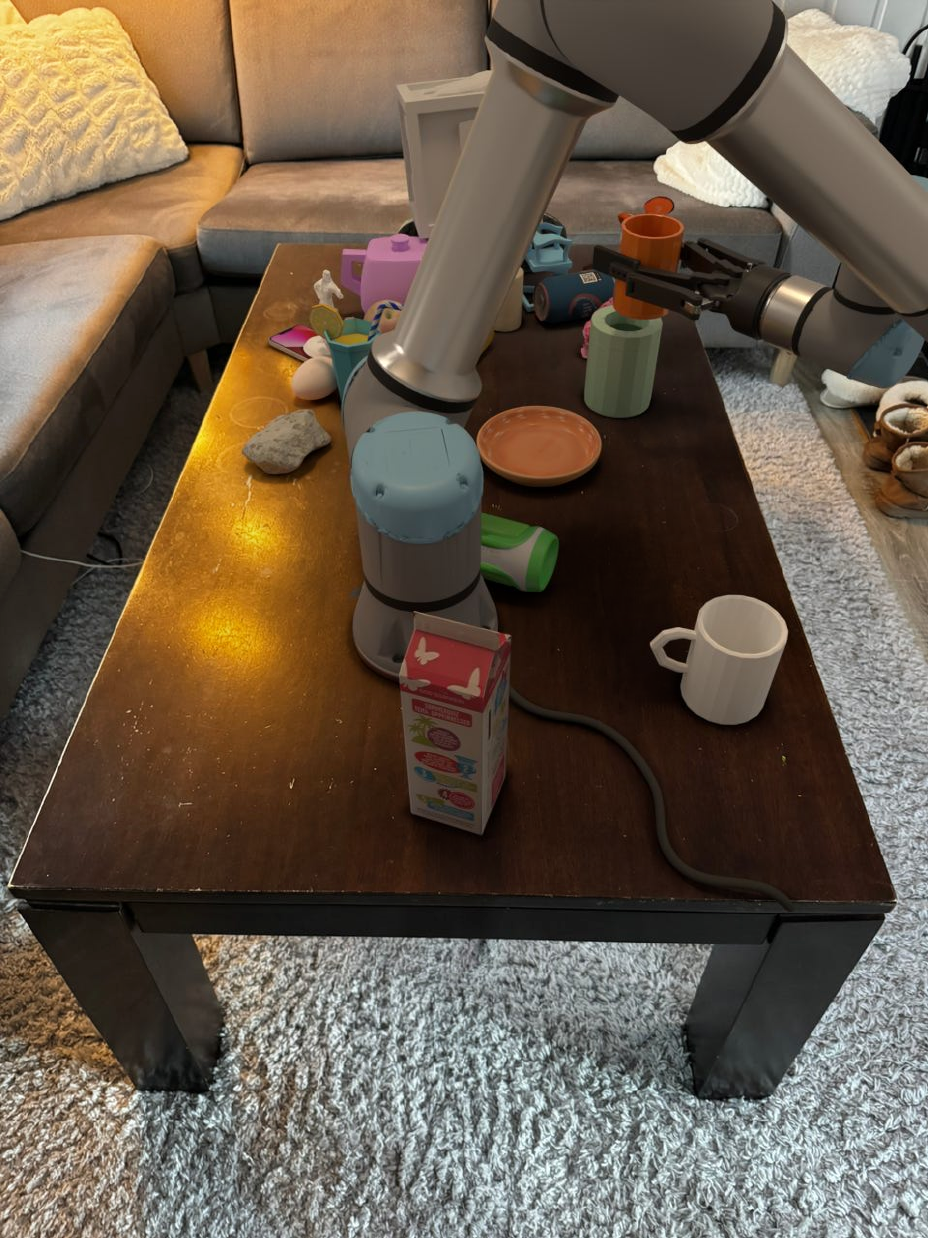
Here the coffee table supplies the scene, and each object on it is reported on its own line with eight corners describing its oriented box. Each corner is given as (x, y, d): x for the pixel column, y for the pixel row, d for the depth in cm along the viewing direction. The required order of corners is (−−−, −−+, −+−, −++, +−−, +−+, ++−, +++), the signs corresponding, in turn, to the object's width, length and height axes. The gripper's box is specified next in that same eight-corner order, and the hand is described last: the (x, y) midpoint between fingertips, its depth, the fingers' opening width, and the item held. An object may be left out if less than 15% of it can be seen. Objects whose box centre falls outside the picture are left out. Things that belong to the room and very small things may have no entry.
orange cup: (681, 312, 111) (695, 231, 104) (631, 324, 109) (642, 242, 102) (650, 289, 116) (662, 209, 109) (602, 299, 114) (610, 219, 107)
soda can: (612, 322, 145) (543, 334, 143) (595, 291, 148) (528, 303, 145) (623, 288, 139) (552, 300, 136) (605, 257, 142) (535, 268, 139)
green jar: (662, 408, 126) (675, 328, 117) (605, 423, 123) (614, 343, 114) (627, 377, 132) (638, 298, 123) (572, 391, 129) (579, 312, 120)
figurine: (293, 346, 134) (293, 266, 126) (327, 334, 139) (329, 256, 131) (326, 365, 132) (328, 284, 124) (361, 351, 136) (365, 273, 128)
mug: (636, 661, 92) (650, 591, 85) (755, 664, 92) (777, 594, 85) (644, 723, 87) (659, 654, 80) (770, 726, 86) (796, 657, 79)
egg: (322, 362, 131) (279, 387, 128) (328, 340, 126) (284, 365, 123) (346, 390, 131) (303, 416, 127) (353, 370, 126) (309, 396, 122)
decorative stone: (325, 482, 114) (321, 449, 111) (240, 483, 114) (233, 450, 111) (334, 428, 123) (330, 395, 119) (255, 428, 123) (249, 396, 119)
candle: (481, 319, 144) (481, 258, 137) (511, 312, 146) (513, 251, 139) (496, 334, 141) (497, 272, 134) (527, 327, 142) (530, 265, 135)
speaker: (532, 602, 95) (551, 589, 102) (547, 536, 93) (565, 527, 100) (384, 559, 100) (412, 549, 107) (395, 495, 98) (423, 489, 105)
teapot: (340, 334, 141) (331, 254, 132) (347, 298, 150) (339, 220, 141) (468, 333, 141) (468, 253, 132) (468, 297, 149) (467, 219, 140)
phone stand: (576, 306, 147) (582, 232, 138) (527, 312, 146) (530, 237, 137) (561, 285, 152) (566, 213, 144) (514, 291, 151) (516, 218, 142)
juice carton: (437, 755, 84) (429, 583, 69) (505, 775, 82) (512, 603, 67) (410, 813, 80) (395, 643, 64) (481, 835, 78) (483, 666, 62)
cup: (417, 388, 130) (412, 288, 119) (411, 418, 124) (406, 315, 114) (321, 385, 131) (308, 285, 120) (312, 415, 125) (297, 313, 114)
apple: (397, 375, 136) (381, 337, 129) (362, 356, 139) (344, 318, 132) (430, 339, 137) (416, 300, 130) (395, 321, 141) (379, 282, 134)
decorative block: (409, 209, 153) (394, 73, 141) (520, 196, 154) (515, 59, 142) (419, 239, 138) (403, 89, 126) (542, 224, 139) (538, 74, 127)
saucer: (583, 506, 110) (585, 486, 108) (460, 481, 114) (459, 462, 112) (611, 436, 121) (613, 416, 118) (497, 415, 124) (498, 396, 122)
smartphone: (333, 372, 131) (265, 338, 138) (334, 378, 132) (265, 344, 139) (369, 354, 135) (300, 322, 142) (369, 360, 136) (301, 328, 143)
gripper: (716, 372, 97) (559, 302, 109) (816, 310, 107) (662, 252, 119) (730, 306, 92) (563, 240, 104) (834, 247, 102) (670, 193, 113)
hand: (616, 247), depth 111 cm, fingers closed on orange cup, 7 cm apart
